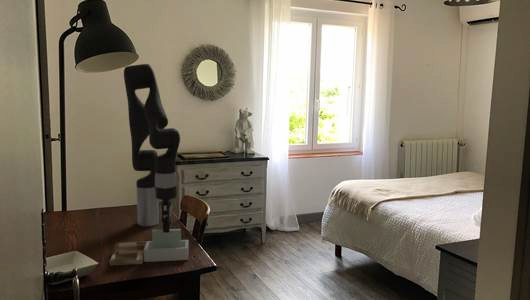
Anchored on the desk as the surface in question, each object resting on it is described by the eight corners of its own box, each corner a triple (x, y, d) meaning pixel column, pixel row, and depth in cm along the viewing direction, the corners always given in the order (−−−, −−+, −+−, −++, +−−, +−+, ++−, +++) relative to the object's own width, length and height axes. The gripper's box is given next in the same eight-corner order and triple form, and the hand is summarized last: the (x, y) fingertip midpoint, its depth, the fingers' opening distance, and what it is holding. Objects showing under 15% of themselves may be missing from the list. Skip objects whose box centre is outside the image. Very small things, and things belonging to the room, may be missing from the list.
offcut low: (117, 257, 165) (117, 250, 165) (137, 256, 166) (137, 249, 166) (115, 260, 161) (115, 253, 161) (136, 259, 162) (136, 253, 162)
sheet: (153, 253, 170) (152, 229, 169) (181, 252, 172) (180, 228, 170) (152, 255, 169) (152, 231, 168) (180, 254, 170) (180, 230, 169)
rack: (116, 251, 174) (116, 242, 174) (146, 250, 176) (146, 241, 176) (109, 265, 161) (109, 255, 161) (142, 263, 163) (142, 254, 162)
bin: (147, 252, 174) (146, 241, 173) (188, 250, 176) (188, 239, 175) (144, 261, 165) (143, 250, 164) (188, 259, 167) (187, 248, 166)
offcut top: (119, 250, 164) (118, 243, 164) (136, 249, 166) (136, 242, 165) (118, 254, 161) (118, 247, 160) (136, 252, 162) (136, 245, 162)
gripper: (156, 180, 173) (158, 222, 175) (153, 189, 159) (154, 235, 162) (177, 180, 174) (178, 222, 177) (175, 189, 160) (176, 234, 163)
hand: (167, 228), depth 169 cm, fingers open, 8 cm apart
